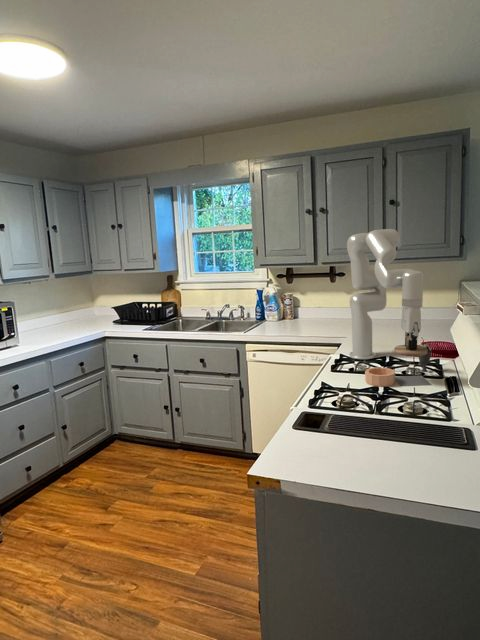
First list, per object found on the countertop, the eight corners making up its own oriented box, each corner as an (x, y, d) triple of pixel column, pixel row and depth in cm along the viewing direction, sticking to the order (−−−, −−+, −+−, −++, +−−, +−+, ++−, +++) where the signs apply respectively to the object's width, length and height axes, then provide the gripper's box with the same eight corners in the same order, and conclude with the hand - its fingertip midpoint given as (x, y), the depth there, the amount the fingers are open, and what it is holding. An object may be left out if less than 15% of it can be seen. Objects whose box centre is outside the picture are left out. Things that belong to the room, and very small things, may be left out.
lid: (390, 348, 184) (390, 333, 183) (421, 346, 183) (421, 332, 182) (399, 356, 172) (399, 341, 171) (432, 355, 171) (432, 340, 170)
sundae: (419, 369, 195) (420, 335, 192) (435, 371, 190) (435, 337, 187) (413, 372, 190) (413, 338, 188) (428, 375, 186) (429, 340, 183)
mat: (392, 378, 185) (392, 376, 185) (421, 376, 185) (421, 375, 184) (400, 387, 174) (400, 386, 174) (432, 386, 173) (432, 385, 173)
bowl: (363, 379, 186) (362, 368, 185) (390, 378, 185) (390, 366, 184) (369, 388, 175) (368, 376, 174) (398, 387, 174) (398, 375, 173)
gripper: (396, 299, 182) (395, 343, 186) (408, 307, 166) (407, 354, 169) (415, 299, 181) (413, 342, 185) (429, 306, 165) (427, 353, 169)
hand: (410, 347), depth 177 cm, fingers closed on lid, 3 cm apart
